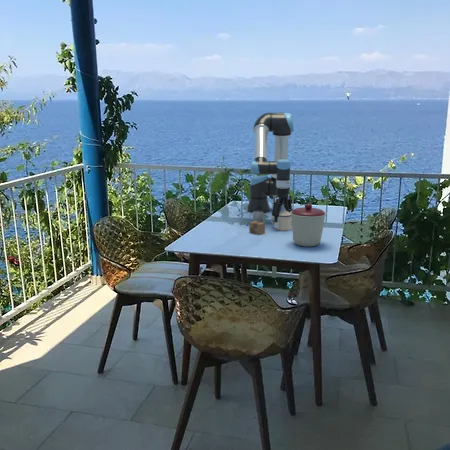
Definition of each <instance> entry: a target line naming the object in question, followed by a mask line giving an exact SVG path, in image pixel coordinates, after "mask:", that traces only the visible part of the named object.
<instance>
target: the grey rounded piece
mask: <svg viewBox="0 0 450 450" xmlns="http://www.w3.org/2000/svg"><path fill="white" fill-rule="evenodd" d="M253 221H258V222H263V223H264V213H263V212H262V211H253V212H252V222H253Z"/></svg>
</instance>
